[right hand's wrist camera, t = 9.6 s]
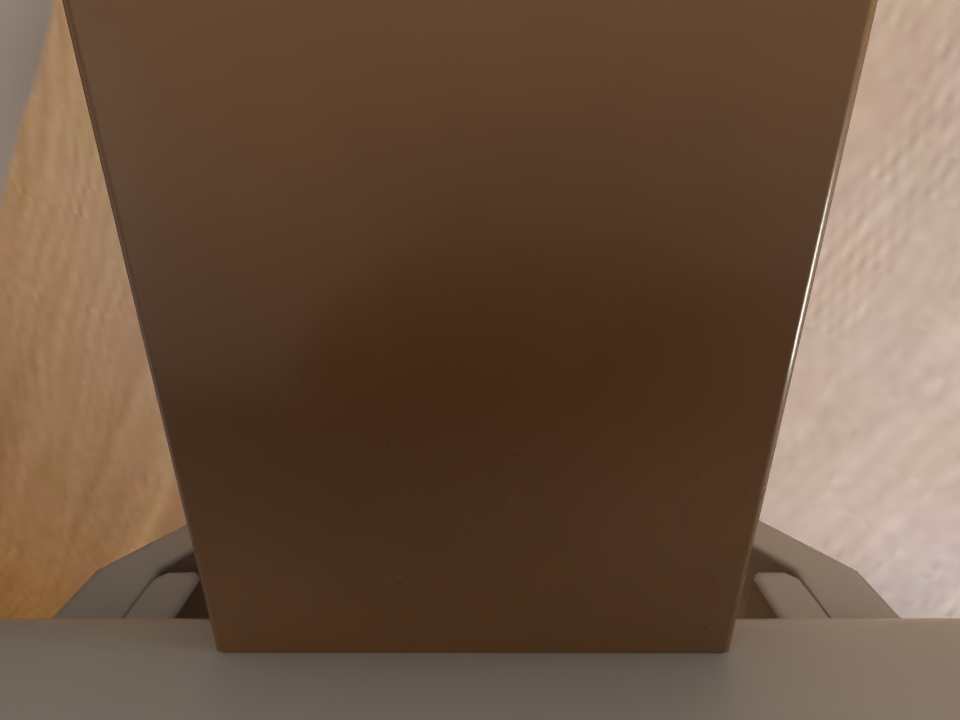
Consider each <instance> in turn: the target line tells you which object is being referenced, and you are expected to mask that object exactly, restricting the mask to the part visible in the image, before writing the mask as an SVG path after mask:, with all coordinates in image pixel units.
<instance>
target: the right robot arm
mask: <svg viewBox="0 0 960 720" xmlns="http://www.w3.org/2000/svg"><path fill="white" fill-rule="evenodd" d="M0 720H960V618H900V617H899V616H898V615H897V614H896V613H895V612H894V611H893V610H892V609H891V608H890V607H889V605H888V604H887V603H886V602H885V601H884V600H883V599H882V598H881V597H880V596H879V595H878V594H877V592H876V591H875V590H874V589H873V588H872V587H871V586H870V585H869V584H868V583H867V582H866V580H865V579H864V578H863V577H862V576H861V575H860V574H859V573H858V572H857V571H856V570H854V569H852V568H850V567H848V566H846V565H844V564H842V563H840V562H838V561H836V560H834V559H832V558H831V557H829V556H827V555H825V554H823V553H821V552H819V551H817V550H815V549H813V548H811V547H809V546H807V545H805V544H804V543H802V542H800V541H798V540H796V539H794V538H792V537H790V536H788V535H786V534H784V533H782V532H780V531H779V530H777V529H775V528H773V527H771V526H769V525H767V524H765V523H763V522H761V521H758V525H757V530H756V534H755V538H754V543H753V547H752V551H751V556H750V560H749V565H748V569H747V573H746V578H745V582H744V586H743V591H742V595H741V600H740V604H739V608H738V613H737V617H736V621H735V626H734V630H733V634H732V639H731V643H730V648H729V651H728V652H725V653H222V652H220V651H217V647H216V643H215V639H214V635H213V630H212V626H211V622H210V618H209V614H208V609H207V605H206V601H205V597H204V593H203V588H202V584H201V580H200V576H199V572H198V567H197V563H196V559H195V555H194V551H193V546H192V542H191V538H190V534H189V530H188V526H187V525H185V526H183V527H181V528H179V529H177V530H175V531H173V532H172V533H170V534H168V535H166V536H164V537H162V538H160V539H158V540H156V541H154V542H152V543H150V544H148V545H146V546H144V547H142V548H140V549H138V550H136V551H134V552H133V553H131V554H129V555H127V556H125V557H123V558H121V559H119V560H117V561H115V562H113V563H111V564H109V565H107V566H105V567H103V568H101V569H99V570H97V572H96V573H95V574H94V575H93V576H92V577H91V578H90V579H89V580H88V581H87V582H86V583H85V584H84V585H83V586H82V587H81V588H80V590H79V591H78V592H77V593H76V594H75V595H74V596H73V597H72V598H71V599H70V600H69V601H68V602H67V603H66V604H65V605H64V606H63V608H62V609H61V610H60V611H59V612H58V613H57V614H56V615H55V616H54V617H53V618H52V619H0Z"/></svg>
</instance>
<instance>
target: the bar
mask: <svg viewBox="0 0 960 720" xmlns="http://www.w3.org/2000/svg"><path fill="white" fill-rule="evenodd" d="M62 1H63V6H64V10H65V14H66V18H67V22H68V27H69V31H70V35H71V39H72V43H73V47H74V52H75V56H76V60H77V64H78V68H79V73H80V77H81V81H82V85H83V89H84V94H85V98H86V102H87V106H88V110H89V115H90V119H91V123H92V127H93V131H94V136H95V140H96V144H97V148H98V152H99V157H100V161H101V165H102V169H103V173H104V177H105V182H106V186H107V190H108V194H109V198H110V203H111V207H112V211H113V215H114V219H115V224H116V228H117V232H118V236H119V240H120V245H121V249H122V253H123V257H124V261H125V266H126V270H127V274H128V278H129V282H130V287H131V291H132V295H133V299H134V303H135V307H136V312H137V316H138V320H139V324H140V328H141V333H142V337H143V341H144V345H145V349H146V354H147V358H148V362H149V366H150V370H151V375H152V379H153V383H154V387H155V391H156V396H157V400H158V404H159V408H160V412H161V416H162V421H163V425H164V429H165V433H166V437H167V442H168V446H169V450H170V454H171V458H172V463H173V467H174V471H175V475H176V479H177V484H178V488H179V492H180V496H181V500H182V505H183V509H184V513H185V517H186V521H187V526H188V530H189V534H190V538H191V542H192V546H193V551H194V555H195V559H196V563H197V567H198V572H199V576H200V580H201V584H202V588H203V593H204V597H205V601H206V605H207V609H208V614H209V618H210V622H211V626H212V630H213V635H214V639H215V643H216V647H217V651H220V652H222V653H725V652H728V651H729V648H730V643H731V639H732V634H733V630H734V626H735V621H736V617H737V613H738V608H739V604H740V600H741V595H742V591H743V586H744V582H745V578H746V573H747V569H748V565H749V560H750V556H751V551H752V547H753V543H754V538H755V534H756V530H757V525H758V521H759V517H760V512H761V508H762V503H763V499H764V495H765V490H766V486H767V482H768V477H769V473H770V469H771V464H772V460H773V455H774V451H775V447H776V442H777V438H778V434H779V429H780V425H781V421H782V416H783V412H784V407H785V403H786V399H787V394H788V390H789V386H790V381H791V377H792V372H793V368H794V364H795V359H796V355H797V351H798V346H799V342H800V338H801V333H802V329H803V324H804V320H805V316H806V311H807V307H808V303H809V298H810V294H811V290H812V285H813V281H814V276H815V272H816V268H817V263H818V259H819V255H820V250H821V246H822V241H823V237H824V233H825V228H826V224H827V220H828V215H829V211H830V207H831V202H832V198H833V193H834V189H835V185H836V180H837V176H838V172H839V167H840V163H841V159H842V154H843V150H844V145H845V141H846V137H847V132H848V128H849V124H850V119H851V115H852V110H853V106H854V102H855V97H856V93H857V89H858V84H859V80H860V76H861V71H862V67H863V62H864V58H865V54H866V49H867V45H868V41H869V36H870V32H871V28H872V23H873V19H874V14H875V10H876V6H877V1H878V0H62Z"/></svg>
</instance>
